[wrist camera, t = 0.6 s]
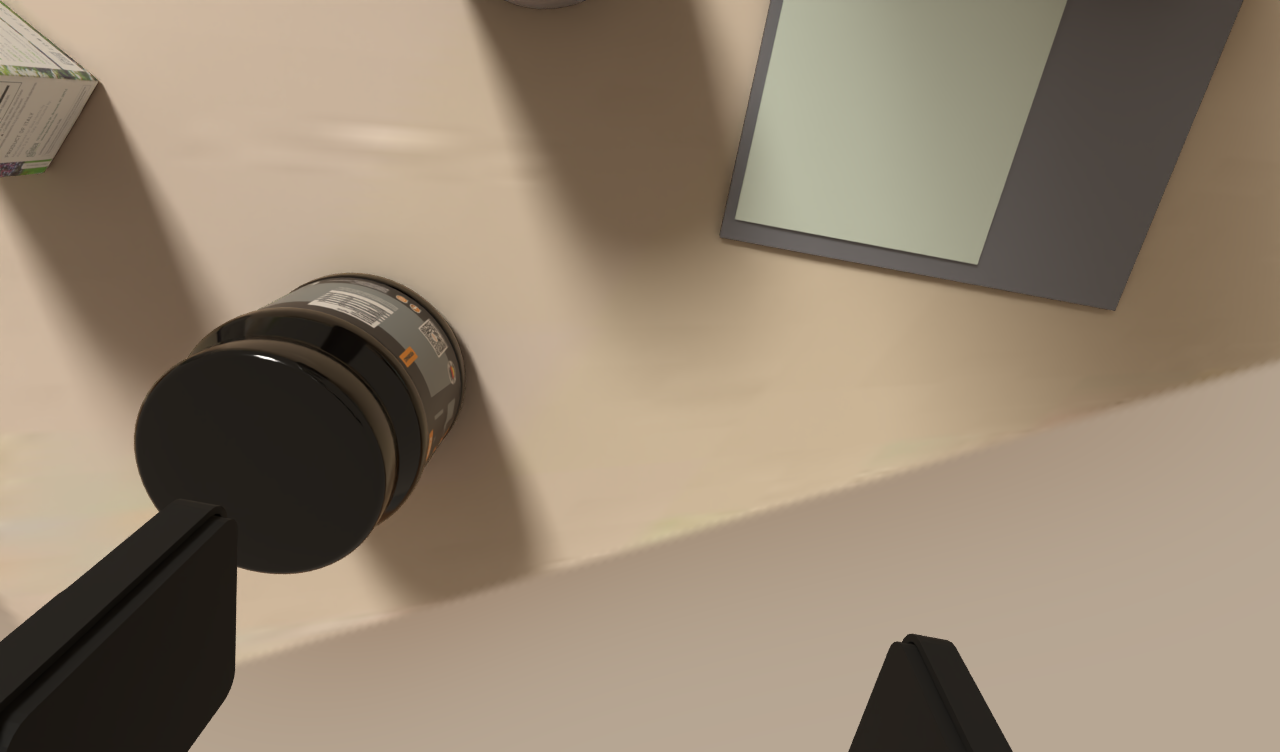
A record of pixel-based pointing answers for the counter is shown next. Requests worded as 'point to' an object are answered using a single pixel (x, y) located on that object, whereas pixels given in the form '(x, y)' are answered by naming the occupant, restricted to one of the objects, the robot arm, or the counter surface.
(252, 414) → the supplement container
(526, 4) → the pillar candle
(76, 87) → the syrup box
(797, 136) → the mat
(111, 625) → the robot arm
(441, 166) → the counter surface
